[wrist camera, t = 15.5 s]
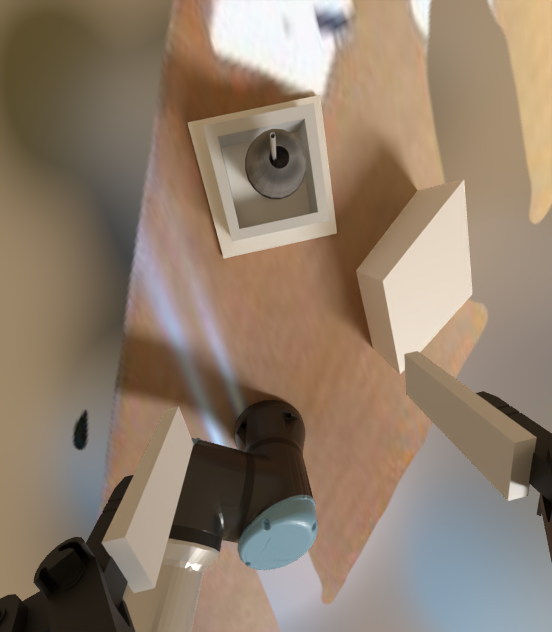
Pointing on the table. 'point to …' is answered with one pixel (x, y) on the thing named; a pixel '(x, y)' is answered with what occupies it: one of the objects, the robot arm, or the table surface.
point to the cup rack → (238, 194)
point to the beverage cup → (275, 164)
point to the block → (417, 273)
